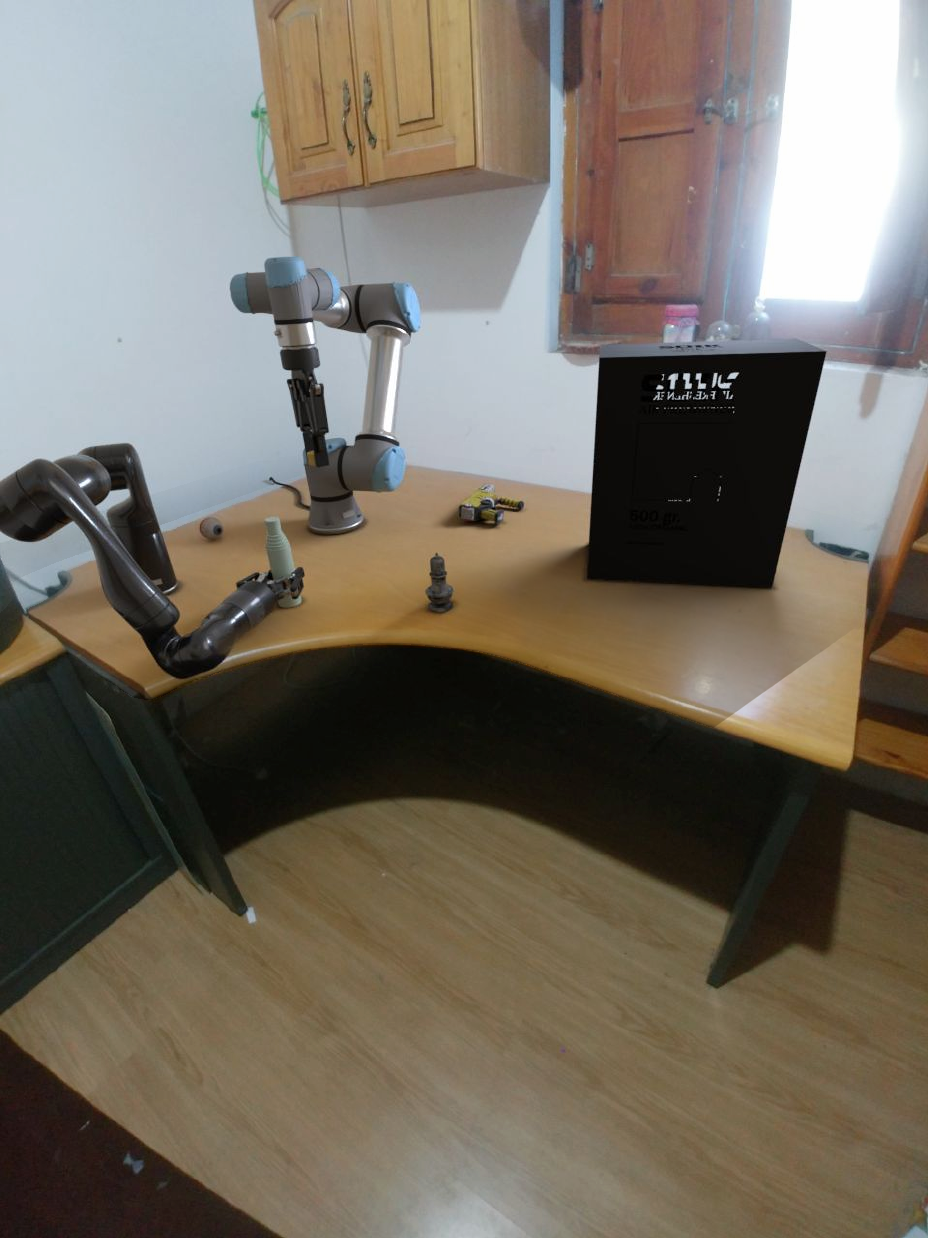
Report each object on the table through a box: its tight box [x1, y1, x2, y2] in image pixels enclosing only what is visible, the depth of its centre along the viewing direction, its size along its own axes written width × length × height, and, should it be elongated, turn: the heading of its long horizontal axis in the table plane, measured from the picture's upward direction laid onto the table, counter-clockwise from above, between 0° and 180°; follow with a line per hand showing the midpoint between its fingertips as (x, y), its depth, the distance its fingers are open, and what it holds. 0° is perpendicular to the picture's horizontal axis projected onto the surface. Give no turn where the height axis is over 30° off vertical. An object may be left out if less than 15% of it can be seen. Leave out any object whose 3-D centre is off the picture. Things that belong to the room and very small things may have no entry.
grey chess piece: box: [424, 552, 455, 613], centre depth 122 cm, size 6×6×12 cm
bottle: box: [264, 516, 302, 609], centre depth 126 cm, size 5×5×19 cm
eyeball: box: [198, 516, 224, 541], centre depth 163 cm, size 6×6×6 cm
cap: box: [307, 450, 316, 466], centre depth 131 cm, size 4×4×2 cm
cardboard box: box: [586, 338, 828, 589], centre depth 126 cm, size 38×20×45 cm, turn 78°
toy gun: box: [457, 482, 525, 525], centre depth 171 cm, size 5×24×15 cm
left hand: (290, 570), depth 129 cm, fingers closed on bottle, 4 cm apart
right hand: (318, 463), depth 132 cm, fingers closed on cap, 4 cm apart
